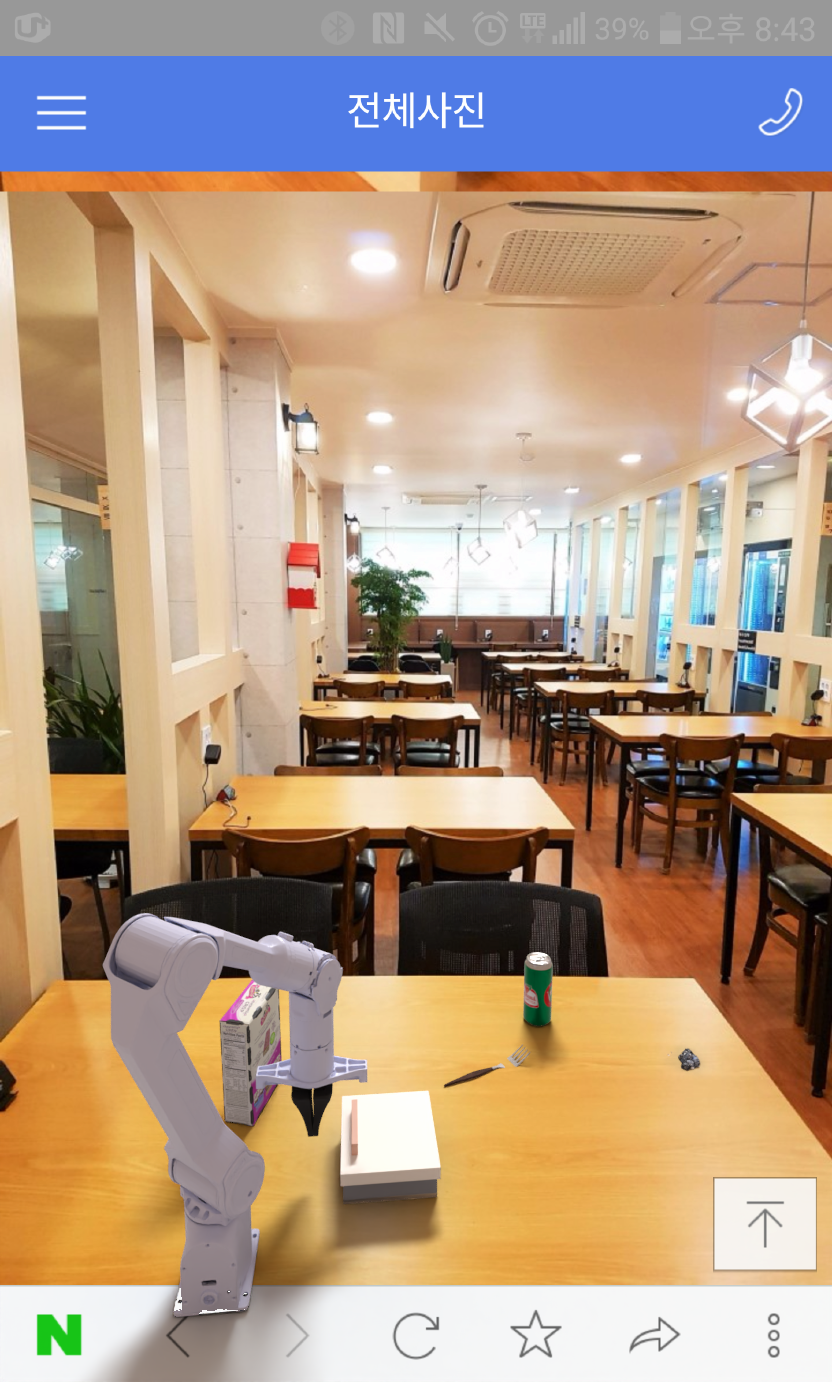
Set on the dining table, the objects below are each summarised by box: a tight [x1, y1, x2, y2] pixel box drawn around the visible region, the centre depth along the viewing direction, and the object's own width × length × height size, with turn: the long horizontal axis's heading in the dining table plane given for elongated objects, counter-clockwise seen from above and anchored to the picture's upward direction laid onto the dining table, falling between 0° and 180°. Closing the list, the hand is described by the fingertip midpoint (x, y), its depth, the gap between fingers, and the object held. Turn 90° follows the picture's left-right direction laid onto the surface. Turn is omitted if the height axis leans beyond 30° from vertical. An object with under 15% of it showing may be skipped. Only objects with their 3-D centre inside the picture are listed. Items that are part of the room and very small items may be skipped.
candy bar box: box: [219, 979, 283, 1127], centre depth 104 cm, size 11×5×16 cm, turn 168°
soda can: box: [522, 952, 554, 1027], centre depth 125 cm, size 5×5×12 cm
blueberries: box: [666, 1048, 701, 1072], centre depth 115 cm, size 7×8×2 cm
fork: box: [443, 1044, 531, 1087], centre depth 111 cm, size 3×16×2 cm, turn 117°
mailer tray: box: [342, 1179, 438, 1205], centre depth 93 cm, size 12×12×4 cm
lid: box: [339, 1090, 442, 1187], centre depth 92 cm, size 14×13×3 cm
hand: (313, 1130), depth 91 cm, fingers closed
